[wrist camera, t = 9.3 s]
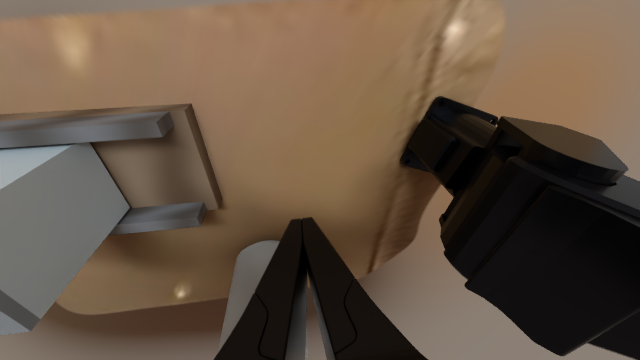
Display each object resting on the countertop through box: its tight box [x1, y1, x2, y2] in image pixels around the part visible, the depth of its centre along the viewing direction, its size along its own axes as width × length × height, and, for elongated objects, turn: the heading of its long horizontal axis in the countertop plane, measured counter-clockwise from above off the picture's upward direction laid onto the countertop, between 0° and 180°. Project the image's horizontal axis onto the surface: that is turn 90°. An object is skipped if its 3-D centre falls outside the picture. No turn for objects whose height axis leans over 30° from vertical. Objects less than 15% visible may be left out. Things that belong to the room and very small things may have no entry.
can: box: [218, 240, 308, 360], centre depth 24 cm, size 8×8×12 cm
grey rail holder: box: [0, 104, 222, 235], centre depth 18 cm, size 16×9×4 cm, turn 91°
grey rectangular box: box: [0, 142, 130, 335], centre depth 14 cm, size 6×6×10 cm
